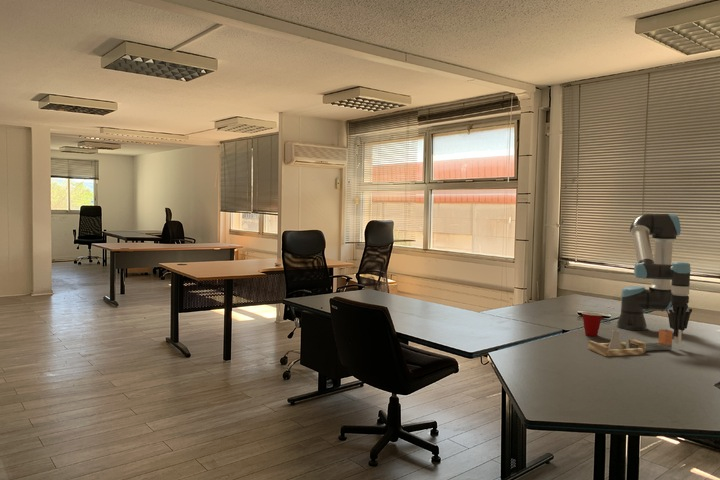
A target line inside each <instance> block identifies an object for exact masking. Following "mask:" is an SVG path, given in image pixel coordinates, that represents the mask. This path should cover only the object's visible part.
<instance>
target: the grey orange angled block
mask: <svg viewBox="0 0 720 480" xmlns="http://www.w3.org/2000/svg"><path fill="white" fill-rule="evenodd" d="M673 333H674V330H673V331H672V330H670V329H658V341H657V342H645V343H646V352H647V351H648V352H649V351H669V350H672V348H673ZM628 344H629V343H628ZM633 348H638V345H635V344H629V349H633Z"/></svg>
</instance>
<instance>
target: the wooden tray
mask: <svg viewBox="0 0 720 480" xmlns="http://www.w3.org/2000/svg"><path fill="white" fill-rule="evenodd" d="M646 343H647V342H643V341H640V340H638V339H635V338H630V339H628V343H627V342H625V341H624V342H620V344H621V347H622V349H612V350H609V347H608V346H609V344H610V342H604V343H603V342H601V343H598V342H596V341H593V340H588V344H587V345H588V346H587V348H588V350H589V351H592V352H595V353H597V354H599V355H601V356H605V357H613V356H615V357H616V356H635V355H643V354H644V353H646V352H647V351H646ZM627 344H628V346H627ZM629 344H635V345H638V348H633V349H629Z"/></svg>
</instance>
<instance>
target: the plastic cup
mask: <svg viewBox="0 0 720 480" xmlns="http://www.w3.org/2000/svg"><path fill="white" fill-rule="evenodd" d="M581 315H582V319H583V320H582V321H583V326H584V334H585V336H587V337H588V336H589V337H598V333H599V329H600V325H601V322H602V318H603V316H604V314H603V313H599V312H591V311H590V312H588V311H581Z"/></svg>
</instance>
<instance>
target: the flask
mask: <svg viewBox="0 0 720 480" xmlns="http://www.w3.org/2000/svg"><path fill="white" fill-rule="evenodd" d="M611 332H612V333H611V334H612V335H611V339H610V341H609V343H610V344H609V346H608V347H609V350H612V349H623V348H622V347H621V344H620V343H621V342H620V336H619V333H620V331H619V330H615V329H611Z"/></svg>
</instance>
